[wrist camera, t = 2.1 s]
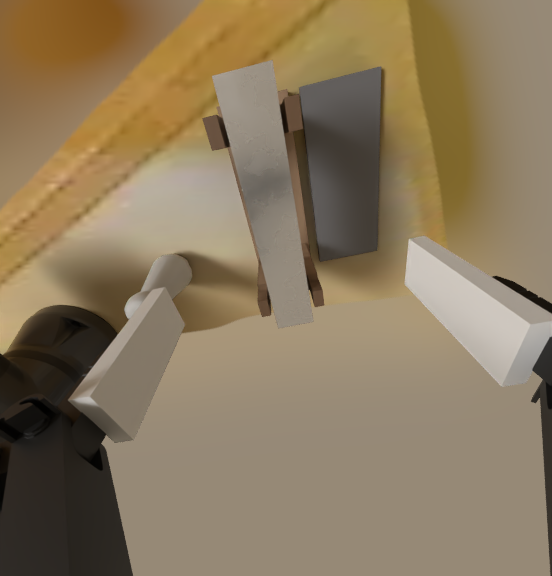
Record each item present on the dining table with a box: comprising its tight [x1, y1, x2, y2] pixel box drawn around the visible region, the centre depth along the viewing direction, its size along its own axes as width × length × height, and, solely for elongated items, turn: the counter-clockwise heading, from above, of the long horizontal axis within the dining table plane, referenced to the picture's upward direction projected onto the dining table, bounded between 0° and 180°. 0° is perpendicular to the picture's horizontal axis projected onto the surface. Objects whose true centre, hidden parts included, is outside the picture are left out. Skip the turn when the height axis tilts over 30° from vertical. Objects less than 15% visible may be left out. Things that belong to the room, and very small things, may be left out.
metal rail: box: [212, 60, 313, 328], centre depth 23 cm, size 4×22×4 cm, turn 12°
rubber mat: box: [299, 67, 381, 262], centre depth 33 cm, size 9×22×1 cm, turn 11°
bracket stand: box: [202, 89, 324, 317], centre depth 27 cm, size 8×22×14 cm, turn 12°
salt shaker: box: [124, 254, 192, 319], centre depth 33 cm, size 6×6×13 cm
